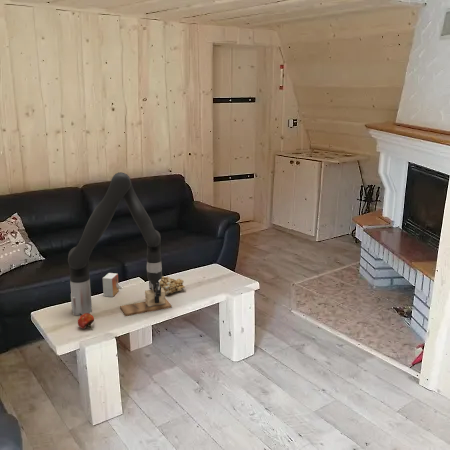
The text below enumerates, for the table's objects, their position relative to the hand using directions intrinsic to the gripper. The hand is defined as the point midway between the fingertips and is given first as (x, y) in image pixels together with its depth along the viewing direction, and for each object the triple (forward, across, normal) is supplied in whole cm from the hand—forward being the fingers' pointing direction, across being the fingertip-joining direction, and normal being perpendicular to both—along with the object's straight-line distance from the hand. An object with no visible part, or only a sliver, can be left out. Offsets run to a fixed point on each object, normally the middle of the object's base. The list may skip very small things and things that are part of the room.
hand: (155, 300), depth 248 cm
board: (+3, 0, -5) cm, 6 cm away
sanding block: (+2, 0, 0) cm, 2 cm away
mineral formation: (+3, -16, +14) cm, 21 cm away
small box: (+3, -25, -17) cm, 30 cm away
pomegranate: (+3, +9, -36) cm, 37 cm away
